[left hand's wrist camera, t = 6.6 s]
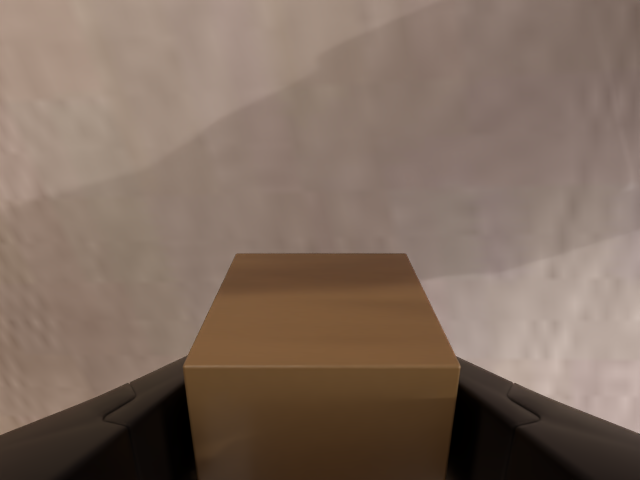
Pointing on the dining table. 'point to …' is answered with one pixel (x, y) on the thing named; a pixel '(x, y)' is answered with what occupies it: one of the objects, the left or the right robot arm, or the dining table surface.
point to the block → (321, 373)
